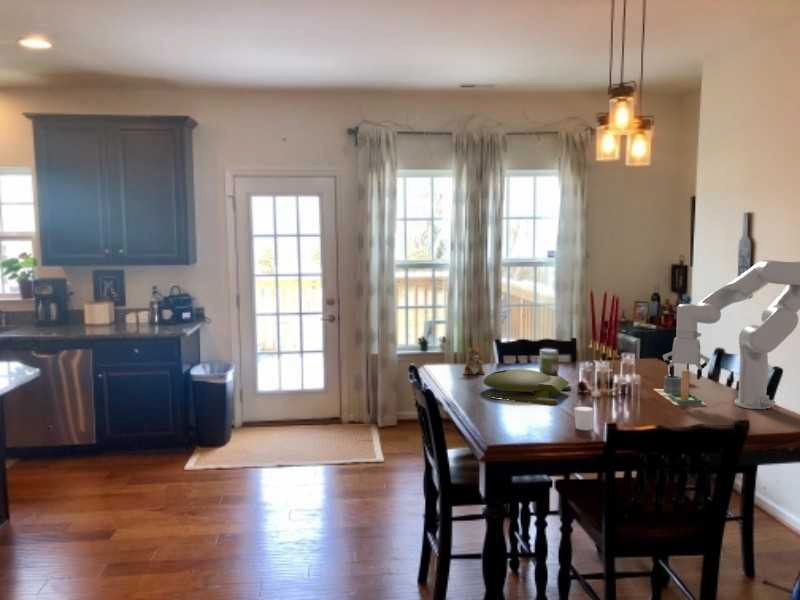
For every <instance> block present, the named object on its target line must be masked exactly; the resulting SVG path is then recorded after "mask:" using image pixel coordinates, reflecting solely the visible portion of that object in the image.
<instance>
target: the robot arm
mask: <svg viewBox="0 0 800 600" xmlns="http://www.w3.org/2000/svg"><path fill="white" fill-rule="evenodd" d="M768 284H776V285H785V287H784V289H783V291H782V292H781V293H780V294H779V295H778V297H776V299H774V301H772V302H771V303H770V304H769V305H768V306H767V307H766V308H765V309H764V310H763V312H762V313H761V321H762V324H761V325H758V324H757V325H755V324H752V325H751V324H750V325H746V326H745V327H743V328H742V329H741V330H740V333H739V336H738V346H739V347H738V348H739V373H738V377H739V378H738V397H737V398H736V399H734V400H733V404H734V405H735V406H737V407H739V408H745V409H748V410H749V409H750V410H766V409H767V408H768V409H770V408H771V407H774V406H775V404H776V401H775V400H773V399H770V395H767V387H768V384H767V383H768V365H769V361H768V360H769V357H768V356H769V355H768V354H770V353H771V352H772V351H774V350H775V349H777V347H778V346H780V345H781V344H782V343H783V342H784V341H785V340H786V339H787V338H788V337H789V335H791V334H792V333H793V332H794V330H795V329H796V328H797V326H798V323H799V315H798V312H799V311H800V261H781V260H779V261H778V260H771V259H763V260H760V261H758V262H756V263H755V264H754V265H753V266H751V267H750V268H748V269H747V270H745V272H743V273H742V274H740V275H739V276H738V277H736V278H735V279H733V280H732V281H730V282H729V283H727V284H725V285H723V286H722V287H720V288H719V289H716V290H715V291H713V292H712V293H710V294H709V295H708V296H706V297H705V298H703V300H700V302H698V304H693V303H680V304H678V306H676V332H675V335H676V337H674V339H673V343H672V350H671V351H670V352H667V353H665V354H663V355H662V358H663V360H664V363H665V364H666V365H667V366H669V367H670V369H669V373H668V375H669V374H671V377H673V376H674V364H675V363H681V364H687V365H695V366H696V367H697V371H696V380H697V381H699V380H700V379H701V378H702V377H703V369H704V368H706V367H707V365H708V364H709V363H710V361H711V358H710V357H708V356H706V355H704V354H702V352H701V342H700V339H699V337H702V333H700V332H699V331H698V323H701V324H705V325H706V324H707V325H708V324H709V325H712V324H716V323H718V322H719V321H720V319H721V317H722V310H723V309H725V308H726V307H728V306H731V305H732V304H735V303H740V302H743V301H746V300H747V299H749V298H751V297H752V296H753V295H755V294H756V293H758V291H760V290H762V289H763V288H764V287H765V286H767V285H768ZM670 356H671V360H672V362H670V359H668V357H670ZM701 359H702V360H704V363H701ZM768 409H767V410H768Z"/></svg>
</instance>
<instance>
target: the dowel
mask: <svg viewBox="0 0 800 600" xmlns="http://www.w3.org/2000/svg"><path fill="white" fill-rule="evenodd" d="M689 393H690V370H689V369H687V370H682V378H681V400H689Z"/></svg>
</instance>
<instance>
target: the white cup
mask: <svg viewBox="0 0 800 600" xmlns="http://www.w3.org/2000/svg"><path fill="white" fill-rule="evenodd" d="M669 361H670V362H672V359H671V360H670V359H669ZM667 366H668V365H667ZM667 368H668V373H667V374H668V376H671V374H669V369H670V367H669V366H668V367H667ZM682 370H688V364H681V363H675V364H674V376H679V377H681V378H682Z"/></svg>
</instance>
